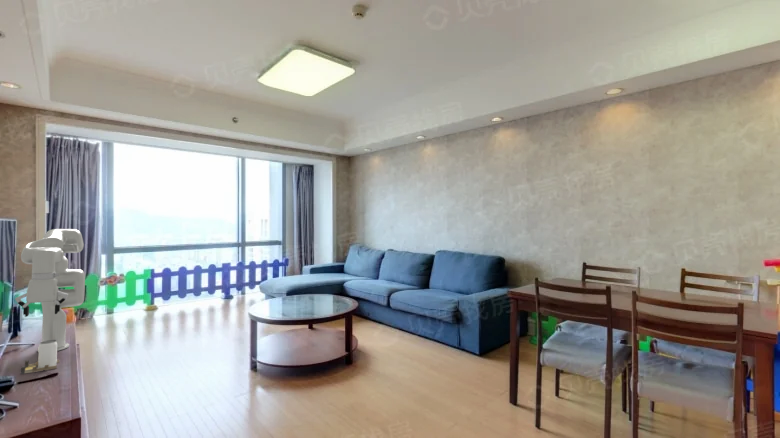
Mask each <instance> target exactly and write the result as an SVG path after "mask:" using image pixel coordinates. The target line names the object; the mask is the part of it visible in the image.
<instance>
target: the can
mask: <svg viewBox="0 0 780 438" xmlns="http://www.w3.org/2000/svg"><path fill="white" fill-rule="evenodd" d="M38 348H39V352H38V356H37V357H38V360H37V361H38V366H37V368H43V367H45V365H49V366H48V367H50V366H56V365H58V363H57V360H58V351H57V342H56V340H47V341H43V342H42V341H40V343H39V346H38Z"/></svg>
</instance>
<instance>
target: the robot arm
mask: <svg viewBox="0 0 780 438" xmlns="http://www.w3.org/2000/svg"><path fill="white" fill-rule="evenodd" d="M84 244H85V243H84V239H83V235H82V232H81V231H80V230H78V229H76V228H53V229H50V230H48V231H47V232H45V234H44V236H43V238H41V239H37V240H34V241H32V242H31V241H30V242H29V243H27V244H26V245H25V246H24V247H23V249H22V251H21V255H20V260H21V262H22V263H23V264H26V265H31V279H29V281H28V284H27V290H26V293H24V294H22V295H19V296H17V297H15V298H14V299H15V302H17V304H18V305H19V306H21V307H22V308H23V315H24V317H25V318H26V317H28V316H30V306H29V305H30V304H34V303H35V304H37V303H38V304H39V303H40V304H41V308H42V327H41V342H43V341H47V340H56V342H57V352H58V351H62V350H65V349H68V348H69V346H70V343H68V342H66V336H67V314H66V312H65V311H64V310H63V309H62V308H68V307H71V308H72V307H79V306H81V305H82V304H83V303H84V300H85V285H86V275H85V274H86V273H85V271H84V270H82V269H80V268H78V269H77V268H75V269H70V268H69V260H68V258H67V257H66V256H65V254H77V253H81V252H82V251H83V249H84V246H85V245H84ZM68 287H69V288H70V287H71V288H70V289H69V288H68ZM72 287H73V288H72ZM59 288H63V289H59ZM64 288H65V289H64ZM67 288H68V289H67ZM23 298H25V299H26V300H25V301H26V302H24V301H23V300H22V299H23ZM36 352H38V353H39V347H38V348H37V351H36Z"/></svg>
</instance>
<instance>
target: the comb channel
mask: <svg viewBox="0 0 780 438" xmlns="http://www.w3.org/2000/svg"><path fill="white" fill-rule="evenodd" d="M58 364H60V359H57V365H58ZM57 365H56V366H50V367H48V366H49V365H45V367H43V368H38V360H37V361H36V362H35V363H30V360H25V362H24V365H23V366H21V367H20V375H24V374H30V373H37V372H42V371H43V370H45V371H49V370H55V369H58V368H57V367H58V366H57ZM32 366H36V367H33V369H30V370H25V369H26V367H32Z"/></svg>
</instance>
